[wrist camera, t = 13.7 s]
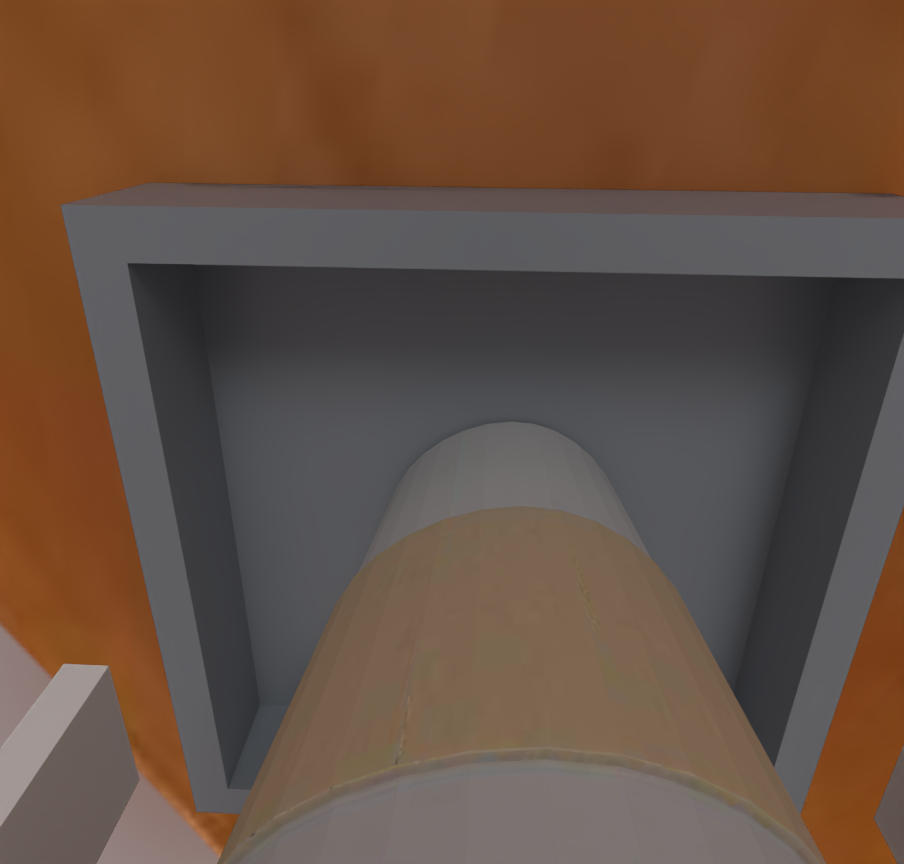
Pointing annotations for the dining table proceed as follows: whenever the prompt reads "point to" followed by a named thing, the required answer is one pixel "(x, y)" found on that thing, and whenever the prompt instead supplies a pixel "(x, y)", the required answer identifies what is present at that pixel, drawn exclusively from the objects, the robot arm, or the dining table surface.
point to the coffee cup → (514, 690)
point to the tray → (497, 412)
